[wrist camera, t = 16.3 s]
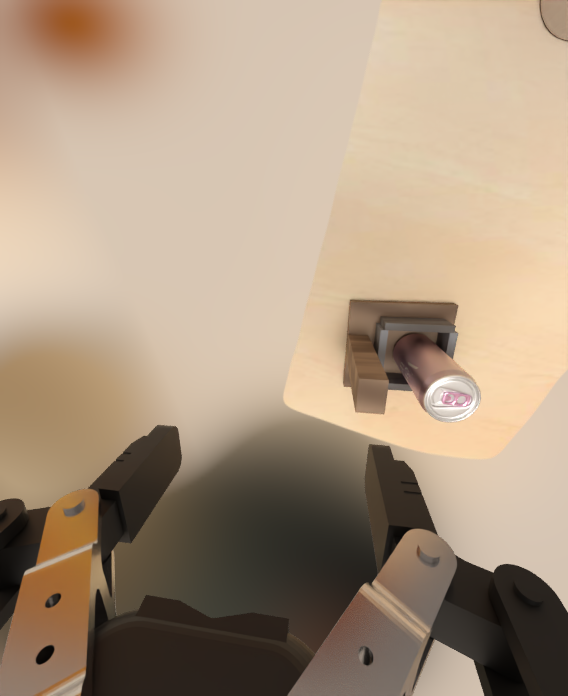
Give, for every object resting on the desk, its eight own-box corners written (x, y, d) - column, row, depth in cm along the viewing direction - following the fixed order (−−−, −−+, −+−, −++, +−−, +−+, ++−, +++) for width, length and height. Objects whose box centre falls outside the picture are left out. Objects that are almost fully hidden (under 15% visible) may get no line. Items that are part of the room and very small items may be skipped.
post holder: (350, 300, 45) (363, 332, 29) (453, 303, 43) (531, 339, 27) (343, 382, 50) (351, 450, 34) (436, 388, 48) (493, 463, 32)
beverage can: (427, 371, 46) (473, 427, 32) (388, 366, 46) (416, 420, 32) (437, 334, 44) (491, 377, 30) (396, 330, 44) (429, 370, 30)
